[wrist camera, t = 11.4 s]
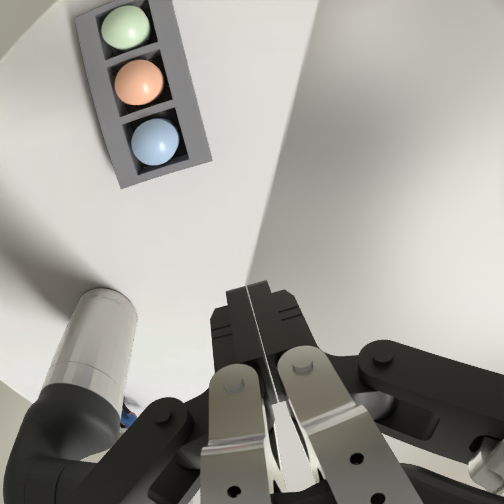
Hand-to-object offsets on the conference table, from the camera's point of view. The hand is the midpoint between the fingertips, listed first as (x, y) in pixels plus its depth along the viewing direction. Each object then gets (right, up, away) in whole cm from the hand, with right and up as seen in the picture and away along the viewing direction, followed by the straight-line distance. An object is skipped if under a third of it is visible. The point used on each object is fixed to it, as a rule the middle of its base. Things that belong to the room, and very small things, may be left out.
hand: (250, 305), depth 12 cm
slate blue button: (-10, +14, +20) cm, 27 cm away
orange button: (-11, +20, +17) cm, 28 cm away
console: (-12, +20, +18) cm, 30 cm away
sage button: (-13, +25, +14) cm, 32 cm away
